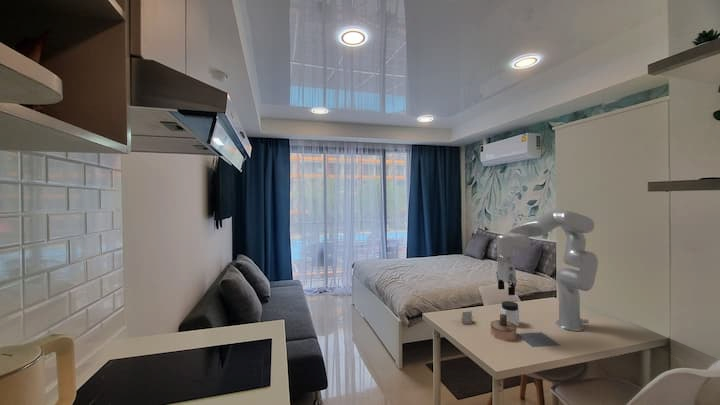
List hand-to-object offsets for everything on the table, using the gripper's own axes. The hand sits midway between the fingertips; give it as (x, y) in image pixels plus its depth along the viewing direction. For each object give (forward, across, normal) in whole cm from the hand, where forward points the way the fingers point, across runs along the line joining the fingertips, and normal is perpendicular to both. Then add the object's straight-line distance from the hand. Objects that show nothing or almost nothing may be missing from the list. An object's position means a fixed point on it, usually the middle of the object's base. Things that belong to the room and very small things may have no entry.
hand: (506, 292), depth 158 cm
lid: (+17, -1, +3) cm, 18 cm away
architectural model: (+23, +18, +14) cm, 32 cm away
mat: (+23, -7, -11) cm, 26 cm away
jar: (+23, +12, -8) cm, 27 cm away
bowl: (+22, -1, +3) cm, 23 cm away
